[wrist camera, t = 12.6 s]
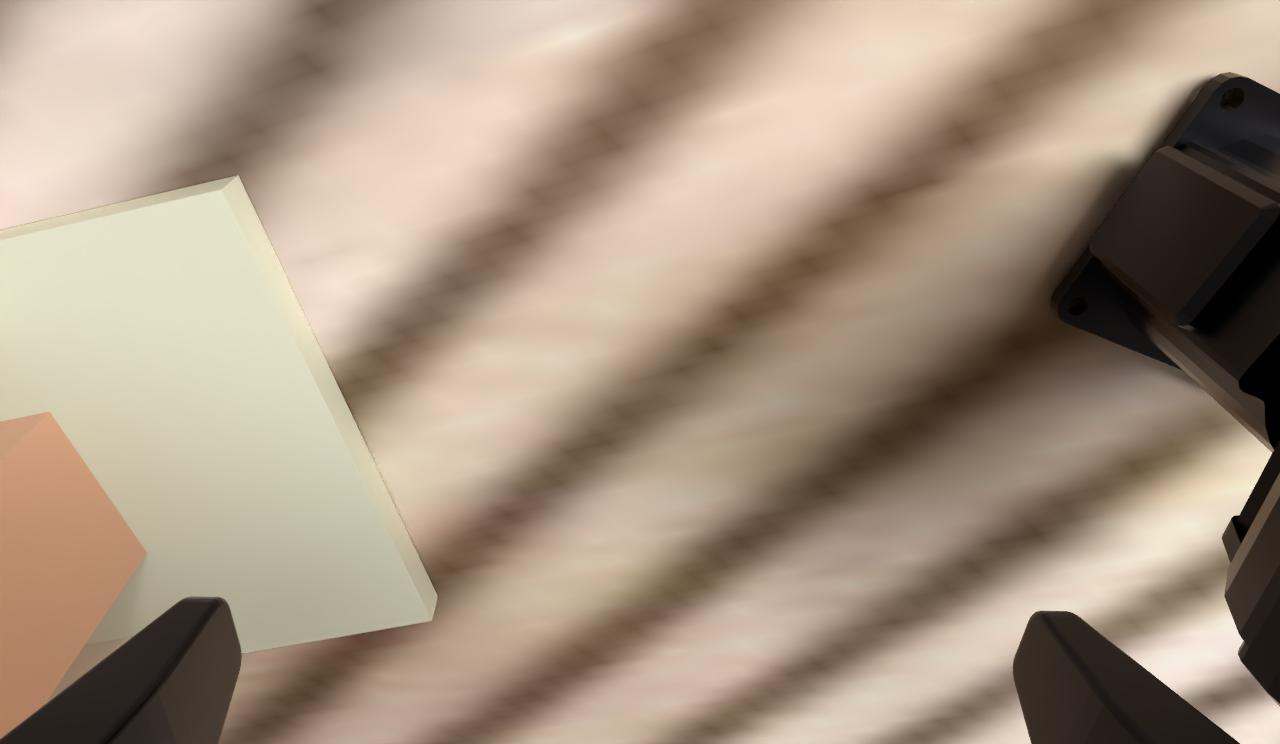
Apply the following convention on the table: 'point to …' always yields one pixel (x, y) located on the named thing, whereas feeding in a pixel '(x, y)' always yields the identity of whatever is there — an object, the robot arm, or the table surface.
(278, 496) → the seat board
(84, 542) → the tall peach block
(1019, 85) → the table surface
